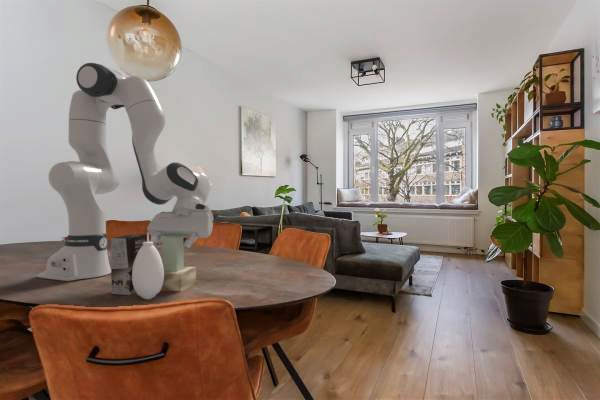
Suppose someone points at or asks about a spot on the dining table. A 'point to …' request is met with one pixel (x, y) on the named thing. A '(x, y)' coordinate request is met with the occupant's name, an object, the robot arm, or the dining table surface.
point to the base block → (179, 279)
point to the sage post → (173, 253)
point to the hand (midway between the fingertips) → (172, 246)
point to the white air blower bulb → (148, 271)
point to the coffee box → (124, 262)
